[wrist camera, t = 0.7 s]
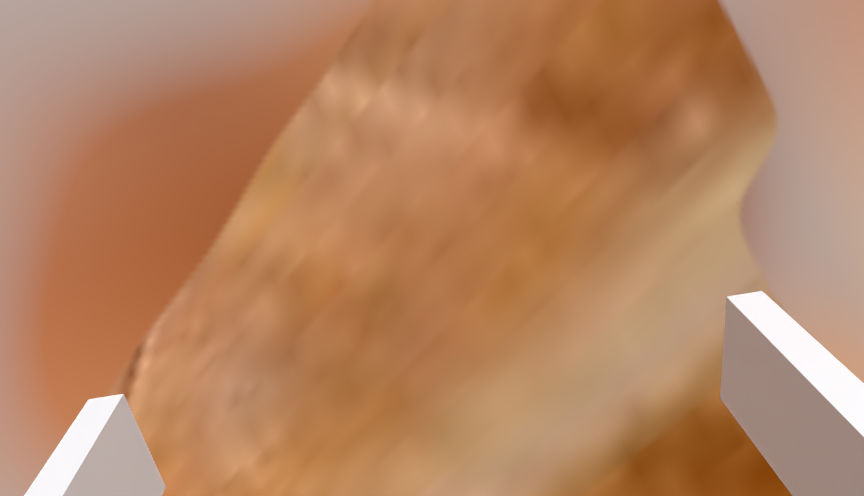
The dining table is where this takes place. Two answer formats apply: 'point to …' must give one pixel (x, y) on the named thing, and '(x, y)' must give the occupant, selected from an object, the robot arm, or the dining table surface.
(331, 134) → the dining table surface
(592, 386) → the dining table surface
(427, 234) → the dining table surface
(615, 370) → the dining table surface
